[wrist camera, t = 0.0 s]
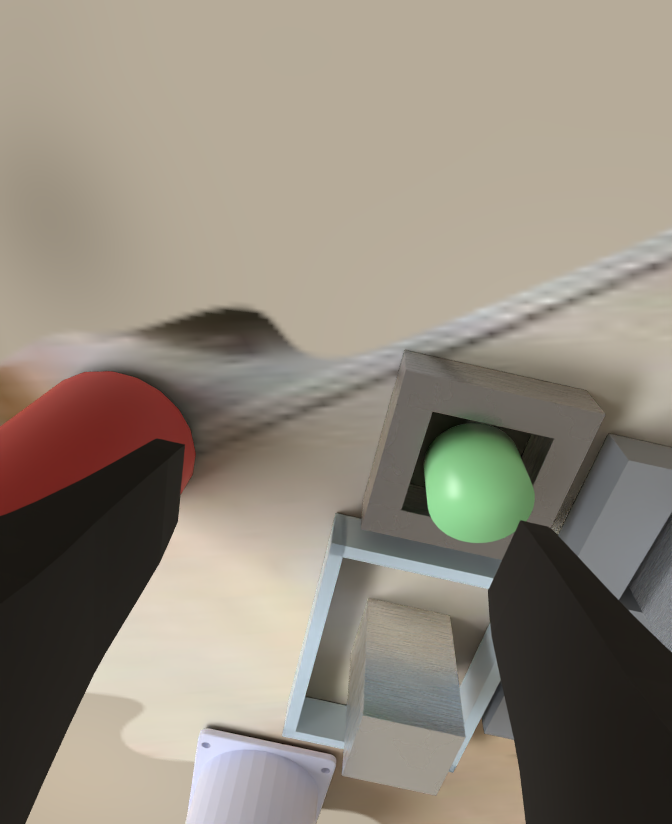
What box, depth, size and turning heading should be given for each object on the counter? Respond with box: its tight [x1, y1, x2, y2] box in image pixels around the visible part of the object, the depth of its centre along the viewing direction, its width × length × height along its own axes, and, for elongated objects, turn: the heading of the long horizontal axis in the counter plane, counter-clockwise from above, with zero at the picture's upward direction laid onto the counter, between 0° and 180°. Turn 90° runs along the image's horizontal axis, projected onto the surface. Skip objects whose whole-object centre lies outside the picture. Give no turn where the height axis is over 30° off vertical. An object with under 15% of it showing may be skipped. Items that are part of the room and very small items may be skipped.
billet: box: [342, 598, 466, 796], centre depth 24 cm, size 4×4×6 cm
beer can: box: [0, 371, 196, 516], centre depth 18 cm, size 7×7×12 cm
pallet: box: [482, 434, 672, 740], centre depth 24 cm, size 16×10×2 cm, turn 169°
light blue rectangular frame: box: [282, 513, 502, 772], centre depth 26 cm, size 13×9×2 cm
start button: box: [424, 423, 535, 543], centre depth 20 cm, size 4×4×2 cm
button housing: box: [361, 350, 606, 560], centre depth 21 cm, size 7×7×2 cm
